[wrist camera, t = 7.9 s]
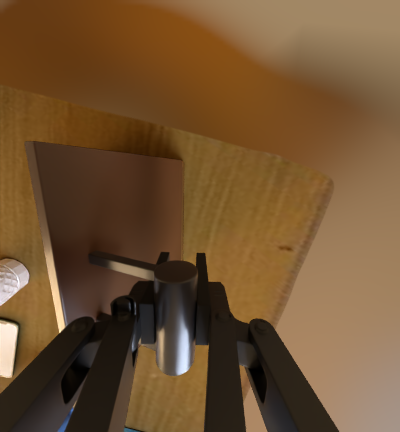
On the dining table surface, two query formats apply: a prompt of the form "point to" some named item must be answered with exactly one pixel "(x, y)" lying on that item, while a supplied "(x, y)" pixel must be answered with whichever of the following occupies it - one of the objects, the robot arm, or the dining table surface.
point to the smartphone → (8, 347)
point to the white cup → (11, 278)
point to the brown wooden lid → (115, 239)
